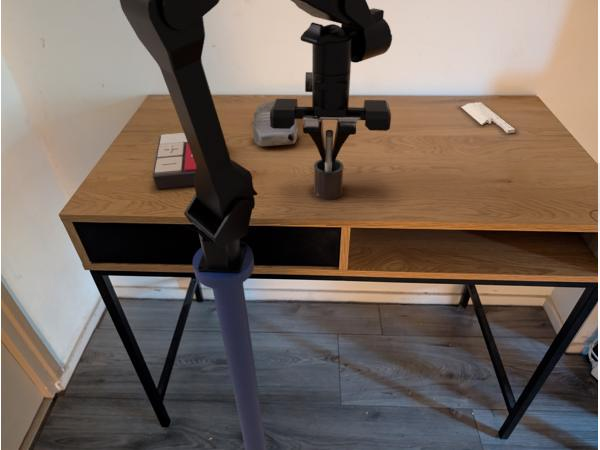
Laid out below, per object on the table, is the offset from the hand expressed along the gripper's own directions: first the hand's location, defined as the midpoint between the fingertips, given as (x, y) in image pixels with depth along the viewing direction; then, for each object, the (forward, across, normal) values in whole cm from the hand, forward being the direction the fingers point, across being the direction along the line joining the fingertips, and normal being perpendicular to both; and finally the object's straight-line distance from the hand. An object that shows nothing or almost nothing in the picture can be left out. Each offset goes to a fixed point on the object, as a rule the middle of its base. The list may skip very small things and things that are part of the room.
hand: (328, 160), depth 74 cm
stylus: (+6, 0, 0) cm, 6 cm away
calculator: (+7, +28, -8) cm, 30 cm away
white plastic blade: (+6, -36, -32) cm, 48 cm away
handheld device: (+7, +13, -24) cm, 29 cm away
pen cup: (+6, 0, 0) cm, 6 cm away
